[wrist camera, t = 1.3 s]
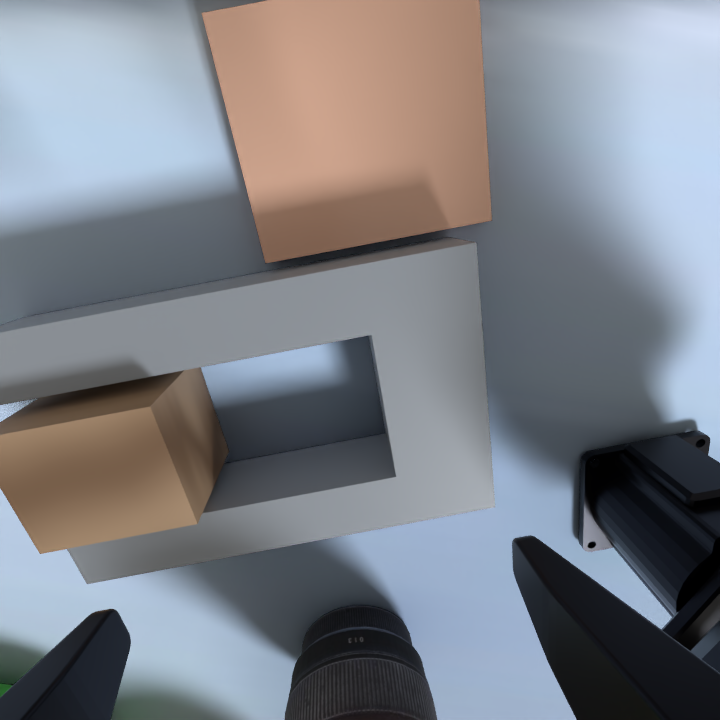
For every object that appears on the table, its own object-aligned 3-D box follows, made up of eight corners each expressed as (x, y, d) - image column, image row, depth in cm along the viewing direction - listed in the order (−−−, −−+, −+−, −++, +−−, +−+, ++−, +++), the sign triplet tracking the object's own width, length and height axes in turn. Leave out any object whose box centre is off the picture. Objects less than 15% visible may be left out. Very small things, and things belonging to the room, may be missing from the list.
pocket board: (469, 460, 21) (495, 507, 17) (126, 525, 21) (87, 584, 17) (448, 236, 17) (476, 242, 13) (25, 316, 17) (-51, 342, 13)
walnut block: (229, 450, 20) (197, 524, 15) (109, 472, 20) (39, 553, 15) (197, 356, 18) (150, 406, 13) (65, 381, 18) (-29, 440, 13)
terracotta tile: (482, 220, 17) (491, 220, 16) (269, 260, 17) (265, 263, 16) (467, -22, 14) (477, -40, 13) (210, 26, 14) (201, 13, 13)
